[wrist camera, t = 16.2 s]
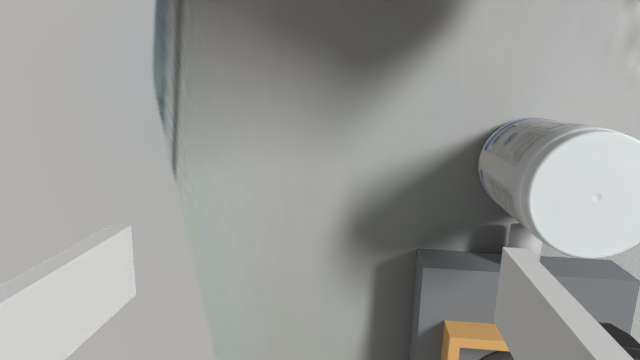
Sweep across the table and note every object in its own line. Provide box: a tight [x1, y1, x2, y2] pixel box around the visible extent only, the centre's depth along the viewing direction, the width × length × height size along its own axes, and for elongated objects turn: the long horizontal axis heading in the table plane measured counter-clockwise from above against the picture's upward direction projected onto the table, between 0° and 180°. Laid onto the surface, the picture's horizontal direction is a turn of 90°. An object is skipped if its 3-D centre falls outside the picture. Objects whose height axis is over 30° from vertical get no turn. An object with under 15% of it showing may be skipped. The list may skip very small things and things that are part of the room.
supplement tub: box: [478, 118, 640, 259], centre depth 37 cm, size 10×10×15 cm
